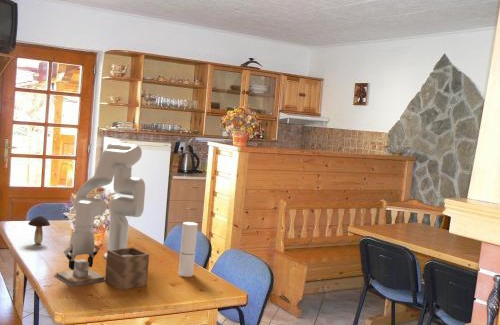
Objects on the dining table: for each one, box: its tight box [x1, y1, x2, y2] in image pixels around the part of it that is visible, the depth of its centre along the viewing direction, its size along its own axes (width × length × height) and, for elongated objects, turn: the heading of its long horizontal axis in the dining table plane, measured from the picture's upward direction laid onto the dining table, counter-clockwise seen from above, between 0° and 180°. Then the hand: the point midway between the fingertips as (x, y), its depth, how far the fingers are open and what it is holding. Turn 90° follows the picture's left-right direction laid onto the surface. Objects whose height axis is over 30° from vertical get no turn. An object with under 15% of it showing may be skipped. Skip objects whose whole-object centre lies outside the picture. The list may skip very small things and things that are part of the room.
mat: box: [54, 274, 105, 288], centre depth 227 cm, size 16×16×1 cm
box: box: [104, 247, 150, 291], centre depth 226 cm, size 13×13×14 cm
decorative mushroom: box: [28, 216, 51, 245], centre depth 276 cm, size 11×11×15 cm
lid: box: [55, 259, 105, 285], centre depth 227 cm, size 15×15×7 cm
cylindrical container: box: [178, 221, 199, 278], centre depth 247 cm, size 7×7×25 cm
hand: (80, 267), depth 226 cm, fingers open, 8 cm apart
